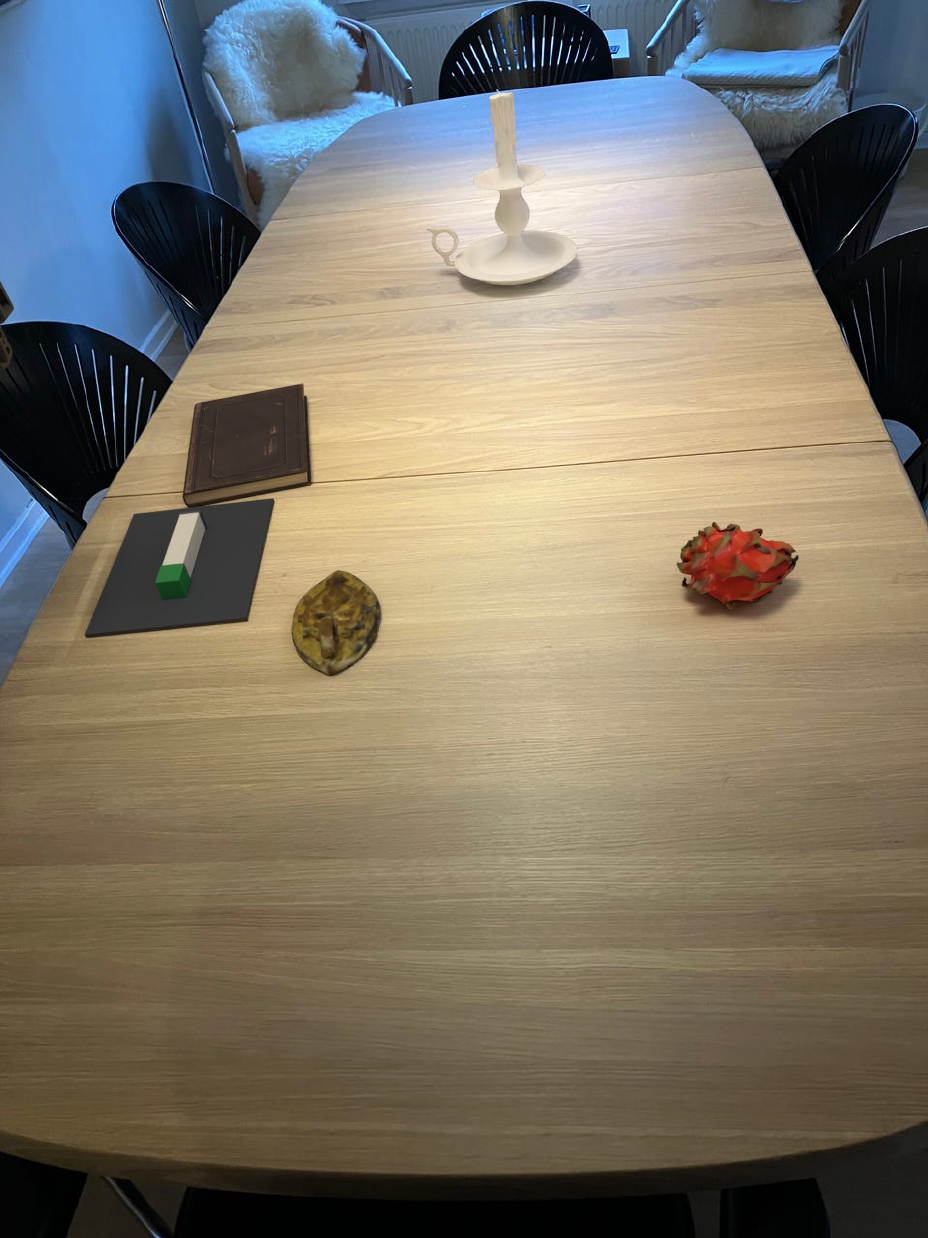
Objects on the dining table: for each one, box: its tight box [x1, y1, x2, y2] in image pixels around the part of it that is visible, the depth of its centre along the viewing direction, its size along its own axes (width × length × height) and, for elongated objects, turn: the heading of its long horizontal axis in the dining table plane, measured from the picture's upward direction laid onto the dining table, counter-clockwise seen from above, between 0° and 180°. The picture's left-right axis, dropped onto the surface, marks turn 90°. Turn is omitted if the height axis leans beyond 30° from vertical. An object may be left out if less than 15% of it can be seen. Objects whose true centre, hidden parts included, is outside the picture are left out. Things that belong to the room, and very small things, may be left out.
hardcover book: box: [182, 383, 312, 508], centre depth 124 cm, size 16×23×2 cm
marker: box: [155, 510, 207, 599], centre depth 107 cm, size 13×3×2 cm, turn 1°
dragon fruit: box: [675, 521, 800, 610], centre depth 91 cm, size 8×8×12 cm
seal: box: [290, 569, 381, 675], centre depth 96 cm, size 9×5×15 cm
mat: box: [84, 497, 275, 638], centre depth 108 cm, size 18×22×1 cm
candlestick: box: [426, 89, 579, 286], centre depth 147 cm, size 21×25×28 cm
